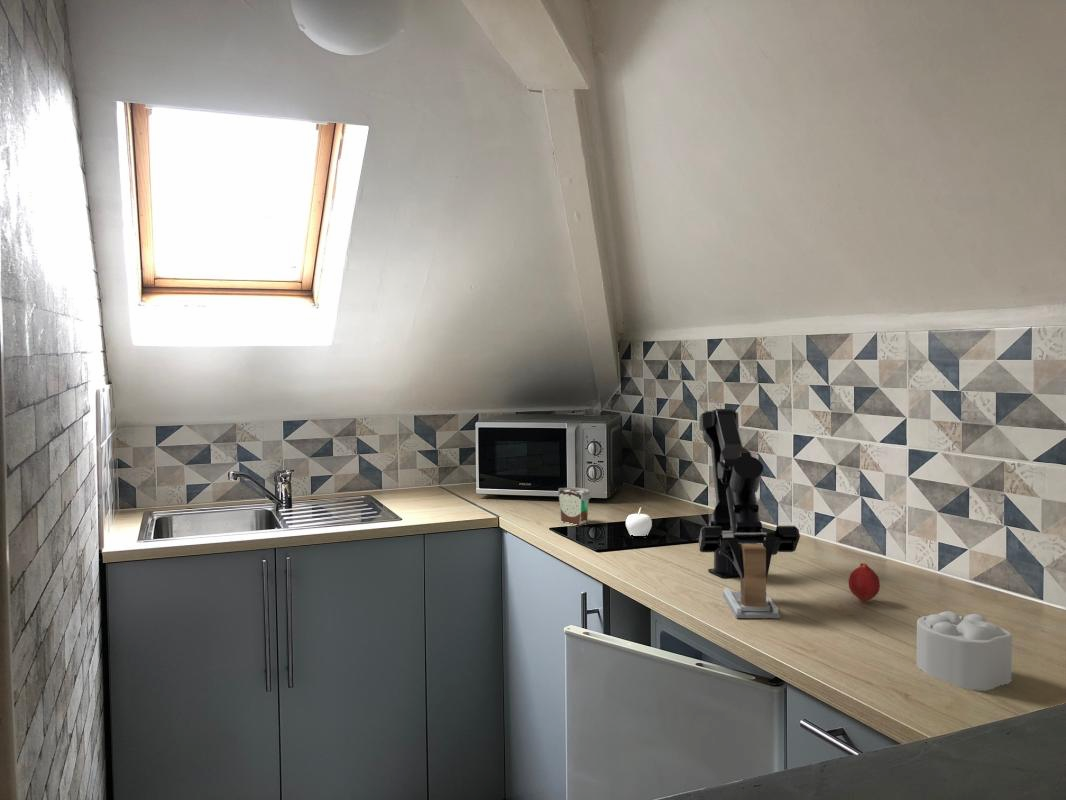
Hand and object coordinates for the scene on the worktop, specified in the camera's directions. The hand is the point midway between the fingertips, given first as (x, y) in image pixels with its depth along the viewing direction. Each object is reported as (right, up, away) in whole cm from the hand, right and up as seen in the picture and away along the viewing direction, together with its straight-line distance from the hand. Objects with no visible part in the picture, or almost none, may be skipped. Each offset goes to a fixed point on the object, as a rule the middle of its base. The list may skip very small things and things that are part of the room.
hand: (754, 577), depth 161 cm
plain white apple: (-13, -4, +70) cm, 72 cm away
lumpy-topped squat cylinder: (+23, -9, -30) cm, 39 cm away
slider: (0, -7, +5) cm, 8 cm away
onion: (+23, -7, +7) cm, 25 cm away
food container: (-28, -3, +91) cm, 95 cm away
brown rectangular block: (0, -7, +2) cm, 7 cm away
